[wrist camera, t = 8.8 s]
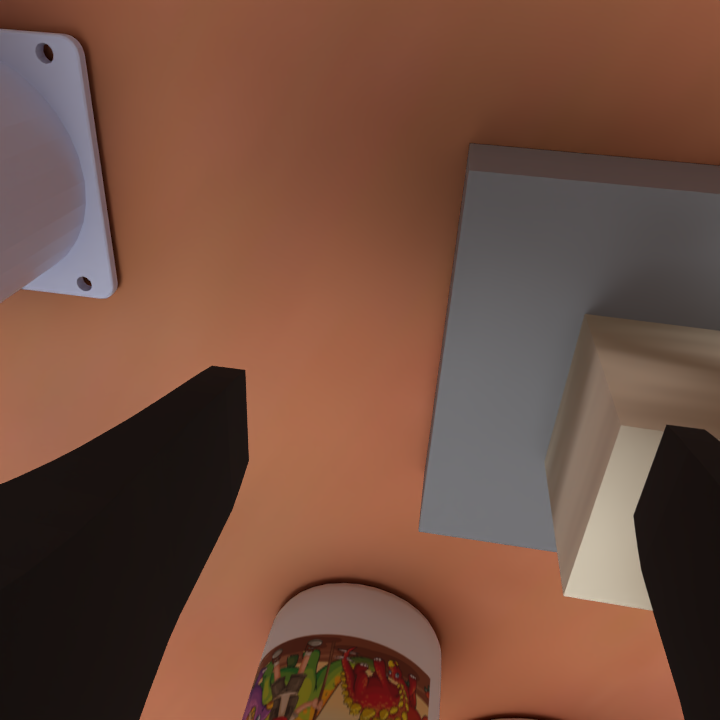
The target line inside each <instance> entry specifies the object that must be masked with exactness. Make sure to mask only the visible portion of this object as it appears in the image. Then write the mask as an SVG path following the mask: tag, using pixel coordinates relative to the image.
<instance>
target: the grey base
mask: <svg viewBox="0 0 720 720" xmlns="http://www.w3.org/2000/svg"><path fill="white" fill-rule="evenodd" d="M585 314H590V315H598V316H606V317H614V318H622V319H630V320H638V321H646V322H654V323H662V324H670V325H678V326H686V327H694V328H701V329H709V330H717V331H720V166H716V165H705V164H694V163H683V162H672V161H661V160H650V159H639V158H628V157H617V156H606V155H595V154H584V153H573V152H562V151H551V150H540V149H529V148H518V147H507V146H495V145H484V144H473V143H470V145H469V153H468V160H467V167H466V175H465V182H464V189H463V196H462V204H461V211H460V218H459V225H458V233H457V240H456V247H455V254H454V262H453V269H452V276H451V283H450V291H449V298H448V305H447V313H446V320H445V327H444V334H443V342H442V349H441V356H440V363H439V371H438V378H437V385H436V392H435V400H434V407H433V414H432V422H431V429H430V436H429V443H428V451H427V458H426V465H425V472H424V482H423V492H422V502H421V512H420V522H419V532H425V533H432V534H439V535H445V536H452V537H459V538H465V539H472V540H479V541H485V542H492V543H499V544H505V545H512V546H519V547H525V548H532V549H539V550H545V551H552V552H557V547H556V540H555V533H554V526H553V519H552V512H551V505H550V498H549V491H548V484H547V477H546V470H545V463H544V461H545V458H546V454H547V450H548V447H549V443H550V439H551V436H552V432H553V428H554V425H555V421H556V417H557V414H558V410H559V406H560V403H561V399H562V395H563V392H564V388H565V384H566V381H567V377H568V374H569V370H570V366H571V363H572V359H573V355H574V352H575V348H576V344H577V341H578V337H579V333H580V330H581V326H582V322H583V319H584V315H585Z"/></svg>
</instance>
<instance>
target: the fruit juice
mask: <svg viewBox="0 0 720 720" xmlns="http://www.w3.org/2000/svg"><path fill="white" fill-rule="evenodd" d="M493 720H536V719H526V718H502V719H493Z"/></svg>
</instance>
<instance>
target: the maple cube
mask: <svg viewBox="0 0 720 720" xmlns="http://www.w3.org/2000/svg"><path fill="white" fill-rule="evenodd" d="M666 424H667V425H674V426H682V427H690V428H698V429H705V430H706V431H708V432H709V433H710V434H712V435H713V436H714V437H715V438H717V439H718V440H719V441H720V331H717V330H709V329H701V328H694V327H686V326H678V325H670V324H662V323H654V322H646V321H638V320H630V319H622V318H614V317H606V316H598V315H590V314H585V315H584V319H583V322H582V326H581V330H580V333H579V337H578V341H577V344H576V348H575V352H574V355H573V359H572V363H571V366H570V370H569V374H568V377H567V381H566V384H565V388H564V392H563V395H562V399H561V403H560V406H559V410H558V414H557V417H556V421H555V425H554V428H553V432H552V436H551V439H550V443H549V447H548V450H547V454H546V458H545V461H544V463H545V470H546V477H547V484H548V491H549V498H550V505H551V512H552V519H553V526H554V533H555V540H556V547H557V554H558V561H559V568H560V575H561V582H562V589H563V596H567V597H573V598H579V599H585V600H591V601H597V602H603V603H609V604H616V605H622V606H628V607H634V608H640V609H646V610H652V611H653V609H652V606H651V603H650V599H649V596H648V592H647V589H646V586H645V582H644V578H643V575H642V571H641V566H640V560H639V554H638V548H637V541H636V533H635V526H634V518H633V515H634V512H635V509H636V507H637V504H638V501H639V498H640V496H641V493H642V490H643V487H644V485H645V482H646V479H647V476H648V474H649V471H650V468H651V466H652V463H653V460H654V457H655V455H656V452H657V449H658V446H659V444H660V441H661V438H662V435H663V433H664V430H665V427H666Z"/></svg>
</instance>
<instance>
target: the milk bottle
mask: <svg viewBox="0 0 720 720" xmlns="http://www.w3.org/2000/svg"><path fill="white" fill-rule="evenodd" d="M440 691H441V648H440V644H439V641H438V639H437V636H436V634H435V631H434V630H433V628H432V627H431V625H430V623H429V621H428V620H427V619H426V618H425V617H424V616H423V615H422V614H421V612H420V611H419V610H417V609H416V608H415V607H413V606H412V605H411V604H410V603H408V602H407V601H405V600H403V599H401V598H399V597H398V596H396V595H394V594H392V593H389V592H386V591H384V590H381V589H378V588H375V587H370V586H366V585H361V584H350V583H334V584H325V585H320V586H315V587H312V588H310V589H307V590H305V591H302V592H300V593H299V594H297V595H296V596H295V597H293V598H291V599H290V600H289V601H288V602H287V603H286V604H285V606H284V607H283V608H282V609H281V610H280V611H279V612H278V614H277V615H276V617H275V619H274V622H273V625H272V628H271V631H270V633H269V636H268V639H267V642H266V645H265V648H264V651H263V654H262V658H261V661H260V664H259V667H258V670H257V674H256V677H255V680H254V683H253V686H252V690H251V693H250V696H249V699H248V702H247V706H246V709H245V712H244V715H243V719H242V720H439V713H440Z"/></svg>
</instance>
